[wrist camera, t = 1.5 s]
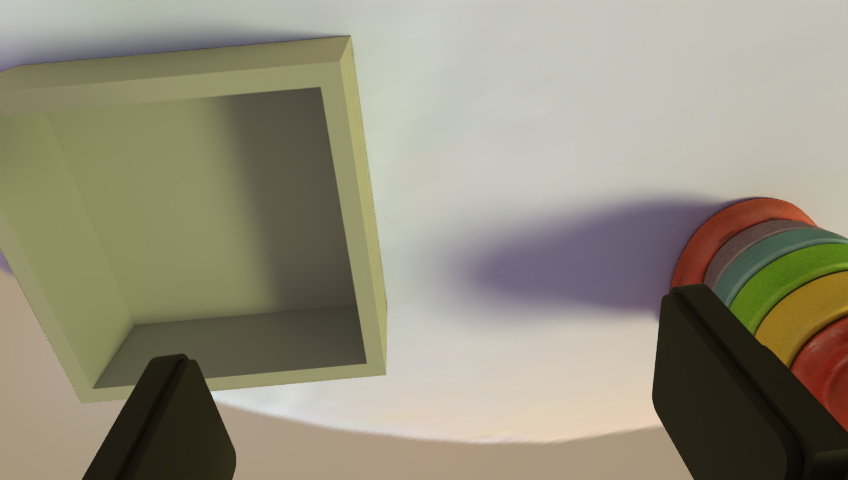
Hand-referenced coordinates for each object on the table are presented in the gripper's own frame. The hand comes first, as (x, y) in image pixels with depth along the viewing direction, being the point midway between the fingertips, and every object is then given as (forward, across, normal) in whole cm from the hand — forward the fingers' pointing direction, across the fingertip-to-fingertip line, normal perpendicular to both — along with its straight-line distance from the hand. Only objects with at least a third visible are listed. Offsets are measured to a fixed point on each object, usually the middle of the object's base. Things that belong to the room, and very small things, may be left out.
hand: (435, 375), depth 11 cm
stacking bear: (+24, -22, +15) cm, 35 cm away
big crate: (+23, +12, +5) cm, 27 cm away
